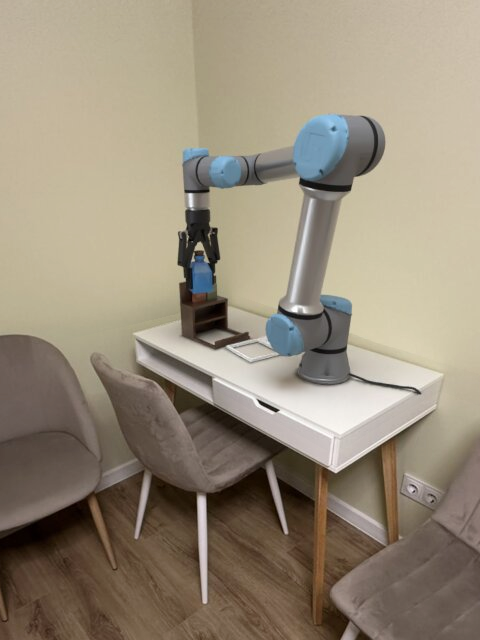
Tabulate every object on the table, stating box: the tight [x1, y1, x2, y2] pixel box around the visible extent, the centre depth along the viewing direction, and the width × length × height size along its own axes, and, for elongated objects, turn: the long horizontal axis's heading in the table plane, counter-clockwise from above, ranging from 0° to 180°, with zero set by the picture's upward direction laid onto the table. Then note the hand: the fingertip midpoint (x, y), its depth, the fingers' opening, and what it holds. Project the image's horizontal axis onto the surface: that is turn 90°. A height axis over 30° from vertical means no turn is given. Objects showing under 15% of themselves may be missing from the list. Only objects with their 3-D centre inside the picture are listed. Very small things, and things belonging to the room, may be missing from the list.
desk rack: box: [178, 274, 251, 350], centre depth 166 cm, size 19×16×19 cm
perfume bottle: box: [189, 249, 212, 294], centre depth 149 cm, size 6×6×12 cm
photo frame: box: [225, 335, 281, 363], centre depth 159 cm, size 15×1×18 cm
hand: (200, 286), depth 152 cm, fingers closed on perfume bottle, 8 cm apart
